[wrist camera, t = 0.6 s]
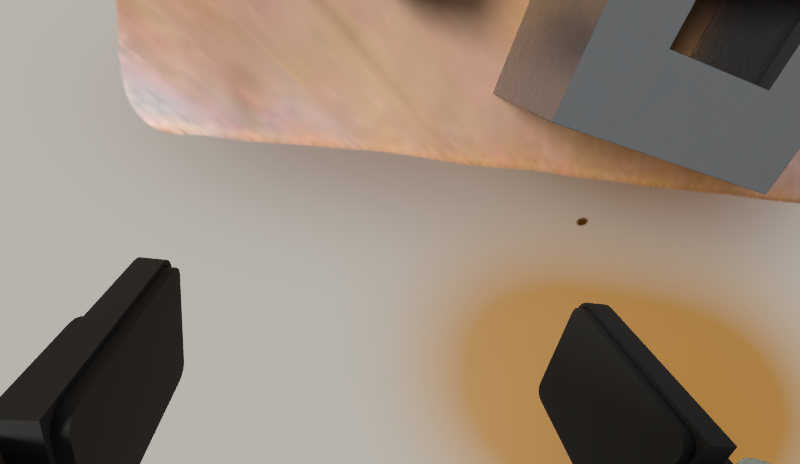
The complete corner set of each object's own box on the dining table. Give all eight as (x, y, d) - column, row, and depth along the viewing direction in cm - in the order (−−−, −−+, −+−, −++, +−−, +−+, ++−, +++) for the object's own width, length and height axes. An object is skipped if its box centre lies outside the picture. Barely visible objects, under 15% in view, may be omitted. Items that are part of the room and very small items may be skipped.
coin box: (593, -159, 30) (730, -263, 19) (780, -60, 34) (979, -99, 23) (493, 93, 37) (551, 121, 26) (657, 149, 41) (765, 194, 30)
